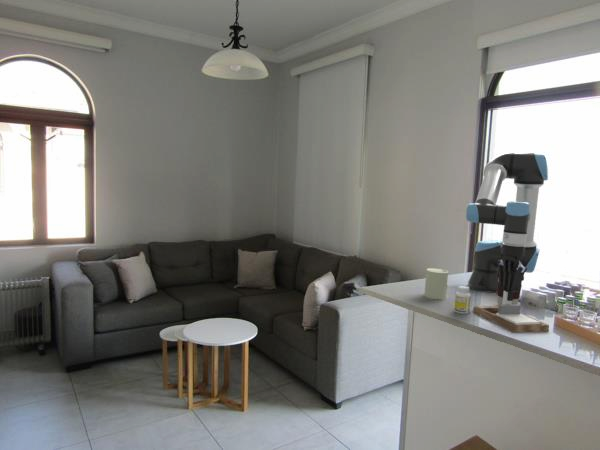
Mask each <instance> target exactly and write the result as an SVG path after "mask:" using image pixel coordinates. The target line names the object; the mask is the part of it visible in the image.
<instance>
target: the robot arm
mask: <svg viewBox="0 0 600 450" xmlns="http://www.w3.org/2000/svg"><path fill="white" fill-rule="evenodd" d="M548 163H549V162H548V156H547V154H546V153H542V152H534V151H533V152H509V151H508V152H504V153H501V154H498V155H497V156H495V157H494V158H492V159H491V160H490V161H488V163H486V165H485V166H484V168H483V173H482V174H483V175H482V176H483V180H482V182H481V184H480V188H479V190H478V194H477V196H476V200H475V202H473V203H472V202H471V203H468V204H467V206H466V211H465V217H466V221H467V222H469V223H476V224H485V225H486V224H488V225H497V226H503V233H502V240H479V241H478V242H476V245H475V249H474V261H473V269H472V273H471V275H470V277H469V280H468V281H467V287H469V289H471V290H475V291H479V292H485V293H497V284H498V277H497V273H498V276H499V287H501V288H502V290H503V295H502V298H503V302H502V305H507V304H512V301H513V295H514V292H518V291H519V289H520V286H521V284H522V283H523V281H522V279H523V276H524V275H525V273H526V274H531V273H533V272H534V271H535V269H536V266H537V261H538V259H539V258H538V257H539V256H540V255H539V254H540V250H541V249H540V248H538V247H537V246H538V245H537V243H536V242H535V241H534V236H535V229H536V227H535V226H536V218H537V210H538V200H539V192H540V188H541V187H542V186H544V183H545V181H548V180H549V169H548V167H549V165H548ZM505 179H512V180H513V184H514V185H515V186H516V193H515V194H516V195H515V196H516V197H515V201H514V200H513V201H507V203H506V205H500V204H499V205H498V204H497V202H498V198H499V195H500V191H501V187H502V184H503V182H504V181H505ZM524 277H525V276H524ZM521 282H522V283H521ZM502 283H503V284H502Z"/></svg>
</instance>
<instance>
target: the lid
mask: <svg viewBox="0 0 600 450" xmlns="http://www.w3.org/2000/svg"><path fill="white" fill-rule="evenodd" d="M521 309H522V305H520V304H519V303H518V304H507V305H499V310H498V313H496V316H499V317H501V318H503V319H505V320H507V321H509V322H511V323H513V324H515V325H531V324H540V322H538V321H536V320H537V319H536V320H534V319H535V318H534V319H532V318H533V317H532V318H529V317H527V316H528V315H527V316H525V315H526V314H525V315H523V314H524V313H523V314H520V313H521Z"/></svg>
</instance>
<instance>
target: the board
mask: <svg viewBox="0 0 600 450" xmlns="http://www.w3.org/2000/svg"><path fill="white" fill-rule="evenodd" d="M498 310H499V306H498V305H476V306H475V305H474V306H473V310H472V312H473V313H475V314H477V315H478V314H479V315H478V316H480V315H481V317H482V316H483V318H484V317H485V319H486V320H488V319H489V320H488V321H490V322H492V323H494V324H497V325H498V326H501V327H502V328H504V329H506V330H508V331H510V332H512V333H536V332H537V333H539V332H540V333H541V332H549V330H550V324H547V323H546V322H543V321H540V320H539V319H536V318H534V317H532V316H529V315H527V314H524V313H522V312H520V314H523V315H525V316H527V317H529V318H532V319H534V320H536V321H538V322H540V324H531V325H515V324H513V323H511V322H509V321H507V320H505V319H503V318H501V317H499V316H496V313H498Z"/></svg>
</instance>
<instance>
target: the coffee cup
mask: <svg viewBox="0 0 600 450" xmlns="http://www.w3.org/2000/svg"><path fill="white" fill-rule="evenodd" d="M497 277H498V284H497V292H496V294H497V300H496V301H497V306H499V305H502V302H503V298H502V295H503V290H502V288H501V287H499V276H498V273H497ZM523 281H525V276H523V279H522V282H521V286H520V289H519V291H518V292H514V295H513V301H512V304H519V299H520V296H521V290H522V288H523V287H522V283H523ZM502 284H503V283H502Z"/></svg>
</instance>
